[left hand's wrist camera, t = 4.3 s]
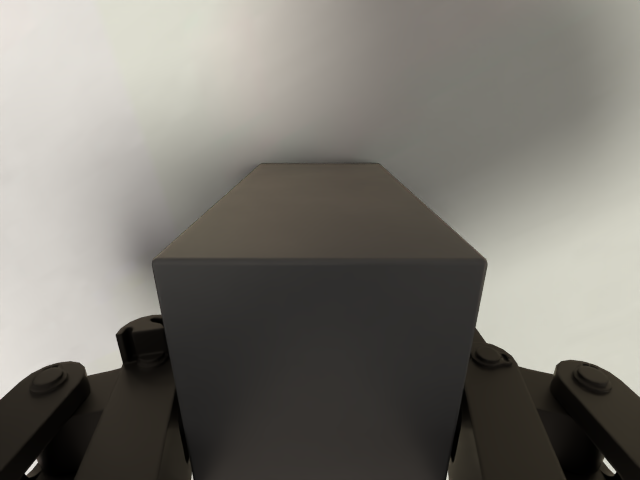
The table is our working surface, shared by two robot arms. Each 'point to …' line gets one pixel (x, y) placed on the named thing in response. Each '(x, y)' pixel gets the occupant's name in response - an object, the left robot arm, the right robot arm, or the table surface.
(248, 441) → the bar
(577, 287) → the table surface
